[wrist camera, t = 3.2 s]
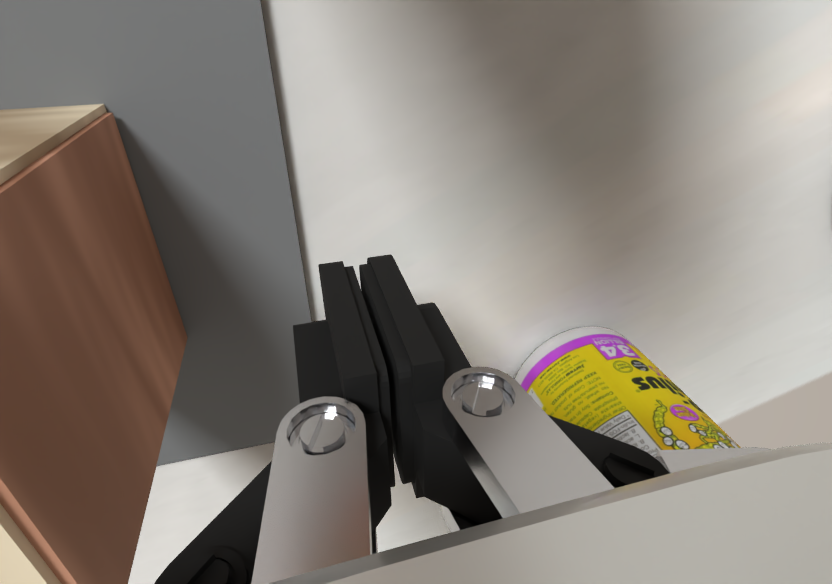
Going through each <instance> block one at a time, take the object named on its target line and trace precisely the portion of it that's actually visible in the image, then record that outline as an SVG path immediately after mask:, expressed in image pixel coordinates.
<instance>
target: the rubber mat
mask: <svg viewBox="0 0 832 584" xmlns="http://www.w3.org/2000/svg"><path fill="white" fill-rule="evenodd" d="M93 104H104V105H105V108H106V111H107V113H113V115H114V118H115V121H116V124H117V127H118V130H119V133H120V136H121V139H122V142H123V145H124V148H125V151H126V154H127V157H128V160H129V163H130V166H131V169H132V172H133V175H134V178H135V181H136V184H137V187H138V190H139V193H140V196H141V199H142V202H143V205H144V208H145V211H146V214H147V217H148V220H149V223H150V226H151V229H152V232H153V235H154V238H155V241H156V244H157V247H158V250H159V253H160V256H161V259H162V262H163V265H164V268H165V271H166V274H167V277H168V280H169V283H170V286H171V289H172V292H173V295H174V298H175V301H176V304H177V307H178V310H179V313H180V316H181V319H182V322H183V325H184V328H185V331H186V334H187V337H188V338H187V342H186V346H185V350H184V354H183V358H182V363H181V367H180V371H179V375H178V379H177V383H176V387H175V391H174V395H173V399H172V404H171V408H170V412H169V416H168V420H167V424H166V428H165V432H164V436H163V441H162V445H161V449H160V453H159V457H158V461H157V465H156V466H159V465H164V464H169V463H174V462H179V461H184V460H189V459H194V458H199V457H204V456H209V455H213V454H218V453H223V452H228V451H233V450H238V449H243V448H248V447H253V446H258V445H262V444H267V443H272V442H275V440H276V434H277V430H278V427H279V425H280V422H281V420H282V419H283V418H284V417H285V415H286V414H287V413H288V412H289V411H290V410H292V409H293V408H294V407H296V406H297V405H298V404H300V400H299V389H298V378H297V367H296V356H295V345H294V334H293V325H297V324H304V323H310V322H312V321H311V315H310V309H309V303H308V296H307V290H306V284H305V277H304V271H303V265H302V259H301V252H300V246H299V240H298V234H297V227H296V221H295V215H294V208H293V202H292V196H291V190H290V183H289V177H288V171H287V164H286V158H285V152H284V146H283V139H282V133H281V127H280V121H279V114H278V108H277V102H276V95H275V89H274V83H273V77H272V70H271V64H270V58H269V51H268V45H267V39H266V33H265V26H264V20H263V14H262V8H261V1H260V0H0V110H7V109H24V108H41V107H58V106H76V105H93Z"/></svg>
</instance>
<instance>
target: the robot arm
mask: <svg viewBox="0 0 832 584" xmlns="http://www.w3.org/2000/svg"><path fill="white" fill-rule="evenodd" d="M359 269H360V281H361V289H360V286H359V283H358V280H357V277H356V274H355V271H354V268H353V266H349V267H344V264H343V261H340V262H333V263H326V264H319V273H320V280H321V287H322V294H323V302H324V309H325V316H326V320H322V321H316V322H310V323H304V324H297V325H293V334H294V345H295V356H296V367H297V378H298V389H299V400H300V404H298V405H297V406H296V407H294V408H293V409H292V410H290V411H289V412H288V413H287V414H286V415H285V417H284V418H283V419H282V420H281V422H280V425H279V427H278V430H277V434H276V440H275V446H274V452H273V458H272V461H271V462H270V463H269V464H268V465H267V466H266V467H265V468H264V469H263V470H262V471H261V472H260V473H259V474H258V475H257V476H256V477H255V478H254V479H253V480H252V481H251V482H250V484H249V485H248V486H247V487H246V488H245V489H244V490H243V491H242V492H241V493H240V494H239V495H238V496H237V497H236V498H235V499H234V500H233V501H232V502H231V503H230V504H229V505H228V506H227V507H226V508H225V509H224V510H223V511H222V512H221V513H220V514H219V515H218V516H217V517H216V518H215V519H214V520H213V521H212V522H211V523H210V524H209V525H208V526H207V527H206V528H205V529H204V530H203V531H202V532H201V533H200V534H199V535H198V536H197V537H196V538H195V539H194V540H193V541H192V542H191V543H190V544H189V545H188V546H187V547H186V548H185V549H184V550H183V551H182V552H181V553H180V554H179V555H178V556H177V557H176V558H175V559H174V560H173V561H172V562H171V563H170V564H169V565H168V566H167V568H166V569H165V570H164V571H163V573H162V574H161V575H160V576H159V578H158V579H157V580H156V582H155V584H832V443H816V444H807V445H799V446H789V447H782V448H777V449H766V448H757V447H752V448H717V449H682V450H658V452H657V455H656V457H653V456H652V455H650V454H649V453H648V452H646V451H643V450H641V449H639V448H637V447H635V446H633V445H630V444H627V443H624V442H622V441H619V440H616V439H613V438H611V437H608V436H605V435H602V434H600V433H597V432H594V431H591V430H589V429H586V428H583V427H580V426H578V425H575V424H572V423H569V422H567V421H564V420H561V419H558V418H556V417H553V416H550V415H547V414H546V413H545V411H544V410H543V409H542V408H541V407H540V406H539V405H538V404H537V403H536V402H535V401H534V399H533V398H532V397H531V396H530V395H529V394H528V393H527V392H526V391H525V390H524V389H523V387H522V386H521V385H520V384H519V383H518V382H517V381H516V380H515V379H513V378H512V377H511V376H510V375H508V374H506V373H504V372H502V371H500V370H497V369H493V368H488V367H471V366H470V364H469V362H468V360H467V359H466V357H465V355H464V353H463V351H462V350H461V348H460V346H459V344H458V343H457V341H456V339H455V337H454V336H453V334H452V332H451V330H450V329H449V327H448V325H447V323H446V321H445V320H444V318H443V316H442V314H441V313H440V311H439V309H438V307H437V306H436V305H435V303H426V304H420V305H417V304H416V302H415V300H414V298H413V296H412V294H411V292H410V290H409V288H408V286H407V284H406V282H405V280H404V278H403V276H402V274H401V272H400V270H399V268H398V266H397V264H396V262H395V260H394V258H393V256H392V255H384V256H377V257H370V258H368V259H367V264H364V265H360V266H359ZM393 454H394V457H395V461H396V464H397V468H398V471H399V475H400V478H401V481H402V483H403V484H406V483H410V482H412V485H413V489H414V492H415V495H416V498H420V497H426V498H428V499H430V500H432V501H434V502H436V503H438V504H440V505H441V512H442V515H443V518H444V520H445V522H446V524H447V526H448V528H449V530H450V532H451V533H448V534H445V535H441V536H437V537H434V538H430V539H426V540H423V541H419V542H415V543H412V544H408V545H404V546H401V547H397V548H394V549H390V550H386V551H383V552H379V553H378V548H377V532H376V527H377V526H378V524H379V523H380V521H381V520H382V518H383V517H384V515H385V514H386V512H387V511H388V509H389V508H390V506H391V505H392V504H391V489H390V487H394V486H395V475H394V458H393Z"/></svg>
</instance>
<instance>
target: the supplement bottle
mask: <svg viewBox="0 0 832 584" xmlns="http://www.w3.org/2000/svg"><path fill="white" fill-rule="evenodd" d="M515 380H516V381H517V382H518V383H519V384H520V385H521V386H522V387H523V389H524V390H525V391H526V392H527V393H528V394H529V395H530V396H531V397H532V398H533V399H534V401H535V402H536V403H537V404H538V405H539V406H540V407H541V408H542V409H543V410H544V411H545V413H546V414H547V415H550V416H553V417H556V418H558V419H561V420H564V421H567V422H569V423H572V424H575V425H578V426H580V427H583V428H586V429H589V430H591V431H594V432H597V433H600V434H602V435H605V436H608V437H611V438H613V439H616V440H619V441H622V442H624V443H627V444H630V445H633V446H635V447H637V448H639V449H641V450H643V451H646V452H648V453H649V454H650V455H652V456H653V457H656V455H657V452H658V450H682V449H717V448H741V447H740V446H739V445H738V444H736V443H735V442H734V441H733V440H732V439H731V438H730V437H729V436H728V435H727V434H726V433H725V432H724V431H723V430H722V429H721V428H720V427H719V426H718V425H717V424H716V423H715V422H713V420H712V419H711V418H710V417H709V416H708V415H707V414H706V413H704V412H703V411H702V410H701V409H700V408H699V407H698V406H697V405H696V404H695V403H694V402H693V401H692V400H691V399H690V398H689V397H688V396H687V395H685V394H684V392H683V391H682V390H681V389H680V388H678V387H677V386H676V385H675V384H674V383H673V382H672V381H671V380H670V379H669V378H668V377H667V376H666V375H664V374H663V373H662V372H661V371H660V370H659V369H658V368H657V367H656V366H655V365H654V364H653V363H652V362H651V361H650V360H649V359H648V358H647V357H646V356H645V355H643V354H642V353H641V352H640V351H639V350H638V349H637V348H636V347H635V346H634V345H633V344H632V343H630V342H629V341H628V340H627V339H626V338H625V337H624V336H622V335H621V334H619V333H617V332H615V331H613V330H611V329H608V328H603V327H596V326H588V327H579V328H575V329H571V330H568V331H565V332H562V333H560V334H558V335H556V336H554V337H552V338H551V339H549V340H547V341H546V342H544V343H543V344H542V345H540V346H539V347H538V348H537V349H536V350H535V351H534V352H533V353H532V354H531V355H530V356H529V357H528V358H527V359H526V361H525V362H524V363H523V365H522V366H521V368H520V369H519V371H518V373H517V375H516V377H515Z"/></svg>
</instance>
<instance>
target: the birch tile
mask: <svg viewBox="0 0 832 584" xmlns="http://www.w3.org/2000/svg"><path fill="white" fill-rule="evenodd" d="M187 338H188V337H187V334H186V331H185V328H184V325H183V322H182V319H181V316H180V313H179V310H178V307H177V304H176V301H175V298H174V295H173V292H172V289H171V286H170V283H169V280H168V277H167V274H166V271H165V268H164V265H163V262H162V259H161V256H160V253H159V250H158V247H157V244H156V241H155V238H154V235H153V232H152V229H151V226H150V223H149V220H148V217H147V214H146V211H145V208H144V205H143V202H142V199H141V196H140V193H139V190H138V187H137V184H136V181H135V178H134V175H133V172H132V169H131V166H130V163H129V160H128V157H127V154H126V151H125V148H124V145H123V142H122V139H121V136H120V133H119V130H118V127H117V124H116V121H115V118H114V115H113V113H107V111H106V108H105V105H104V104H93V105H76V106H58V107H41V108H24V109H7V110H0V584H128V580H129V576H130V572H131V568H132V564H133V560H134V555H135V551H136V547H137V543H138V539H139V535H140V531H141V527H142V523H143V519H144V514H145V510H146V506H147V502H148V498H149V494H150V490H151V486H152V482H153V477H154V473H155V469H156V465H157V461H158V457H159V453H160V449H161V445H162V441H163V436H164V432H165V428H166V424H167V420H168V416H169V412H170V408H171V404H172V399H173V395H174V391H175V387H176V383H177V379H178V375H179V371H180V367H181V363H182V358H183V354H184V350H185V346H186V342H187Z"/></svg>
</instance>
